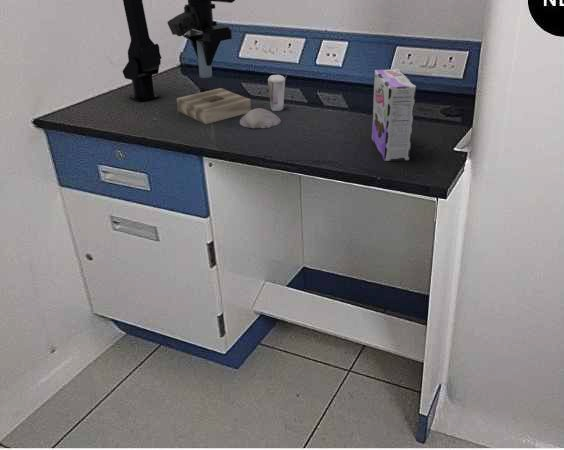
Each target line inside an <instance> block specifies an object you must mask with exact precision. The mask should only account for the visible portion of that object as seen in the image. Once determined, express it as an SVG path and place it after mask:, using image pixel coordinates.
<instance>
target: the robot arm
mask: <svg viewBox="0 0 564 450" xmlns="http://www.w3.org/2000/svg"><path fill="white" fill-rule="evenodd" d="M235 1H236V0H187V3H186V4H185V5H184V6H183V10H184V11H183V12H182V13H180V14H178V15H176V16H174V17H173V18H171V19H170V20H168V21H167V22H166V23H167V26H168V27H169V29H170V32H171V35H173V36H174V35H176V36H177V37H184V38H185V39H186V40H187V41H189V42H190V43H191V45H192V48H193V50H194V52H195V55H196V58H197V59H198V53H197V42H196V41H198V42H199V43H201V44H202V46H203V50H204V56H205V61H206V65H207V66H210V65H211V66H212V65H213V61H214V58H215V55H216V53H217V50H218V48H219V45H220V44H221V42H222V41H227V40H232V39H233V31H232V29H231V28H230V27H229V26H225V25H221V24H220V25H219V24H218V25H217V21H215V20H214V16H213V9H215V10H216V3H227V4H228V3H229V4H233V2H234V3H235ZM212 2H216V3H212ZM122 3H123V7H124V12H125V17H126V22H127V28H128V32H129V36H130V44H129V47H128V49H127V59H128V61H127V63H126V65H125V67H124V68H123V69H122V74H123V77H124V78H125V79H126V80H131V84H132V90H133V92H132V93H133V94H130V95H129V96H128V97H129V98H130V99H133V100H135V101H136V102H144V101H150V100H155V99H159V98H160V95H159V94H156V93H155V90H154V89H155V88H154V83H153V82H154V81H153V76H154V75H157V74H159V71H160V65H161V61H162V57H163V56H162V55H161V51H160V46H159V44H158V43H154V42H153V40H152V39H151V38H150V34H149V28H148V24H147V19H146V13H145V8H144V3H143V0H122Z"/></svg>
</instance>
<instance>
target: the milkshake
mask: <svg viewBox="0 0 564 450" xmlns="http://www.w3.org/2000/svg"><path fill="white" fill-rule="evenodd" d="M288 73H289V72H287V73H286V75H285V77H284V75H280V74H272V75H270V76H269V77H268V79H267V85H268V92H269V100H270V109H271V111H273V112H280V111H283V110H284V105H285V103H284V100H285V87H286V78H287V75H288Z"/></svg>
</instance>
